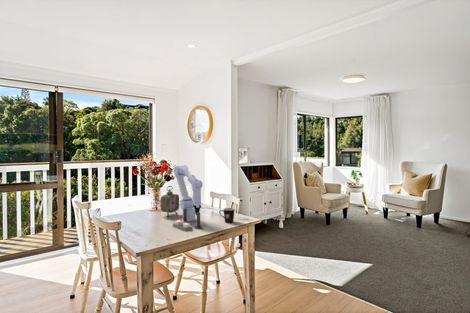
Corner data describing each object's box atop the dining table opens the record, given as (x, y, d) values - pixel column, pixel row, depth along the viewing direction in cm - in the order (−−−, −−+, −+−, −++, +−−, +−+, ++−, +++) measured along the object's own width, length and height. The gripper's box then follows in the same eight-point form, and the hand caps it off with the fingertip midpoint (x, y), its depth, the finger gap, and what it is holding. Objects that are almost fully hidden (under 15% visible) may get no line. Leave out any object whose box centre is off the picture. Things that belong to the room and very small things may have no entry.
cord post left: (185, 221, 217) (185, 207, 217) (189, 223, 214) (189, 208, 213) (180, 223, 214) (180, 208, 213) (184, 224, 210) (183, 210, 210)
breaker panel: (179, 224, 210) (179, 219, 210) (192, 229, 198) (192, 223, 198) (172, 226, 206) (172, 220, 205) (185, 231, 194) (185, 225, 194)
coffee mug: (237, 221, 216) (236, 209, 216) (228, 224, 210) (228, 211, 210) (226, 219, 225) (226, 206, 224) (218, 221, 219) (218, 208, 218)
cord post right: (199, 226, 205) (199, 211, 204) (203, 228, 201) (203, 212, 201) (193, 228, 201) (193, 212, 201) (197, 229, 198) (197, 214, 197)
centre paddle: (182, 223, 204) (182, 220, 204) (185, 224, 202) (185, 221, 201) (178, 224, 202) (178, 221, 202) (181, 225, 199) (181, 222, 199)
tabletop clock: (168, 218, 228) (167, 187, 227) (159, 216, 232) (159, 186, 231) (179, 214, 241) (179, 185, 240) (171, 212, 245) (170, 184, 244)
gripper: (191, 195, 217) (191, 212, 217) (192, 199, 202) (192, 217, 203) (200, 195, 218) (200, 212, 218) (201, 198, 204) (202, 217, 204)
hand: (197, 215), depth 211 cm, fingers closed
